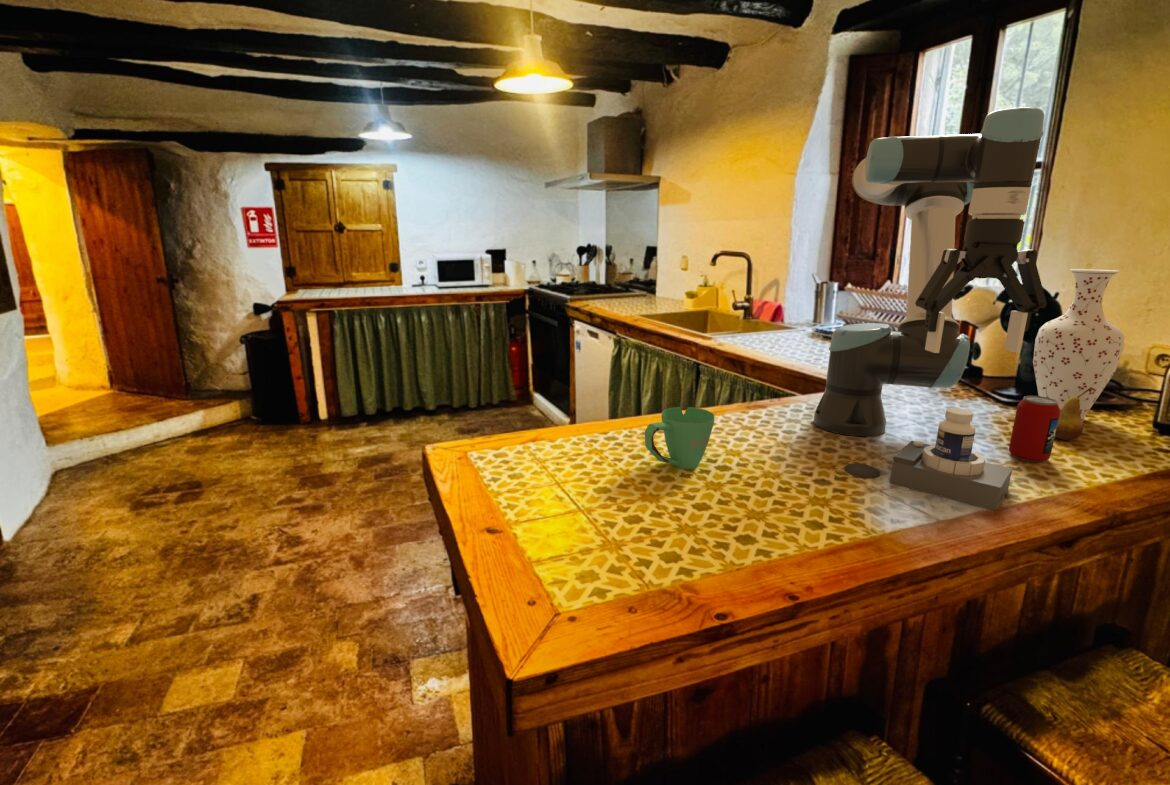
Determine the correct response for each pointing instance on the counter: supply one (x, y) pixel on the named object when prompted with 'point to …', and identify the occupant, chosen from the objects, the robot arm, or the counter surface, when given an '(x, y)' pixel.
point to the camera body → (950, 476)
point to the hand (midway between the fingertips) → (971, 351)
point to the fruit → (1070, 420)
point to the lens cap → (862, 470)
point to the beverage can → (1034, 428)
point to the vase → (1079, 345)
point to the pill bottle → (955, 435)
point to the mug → (682, 436)
